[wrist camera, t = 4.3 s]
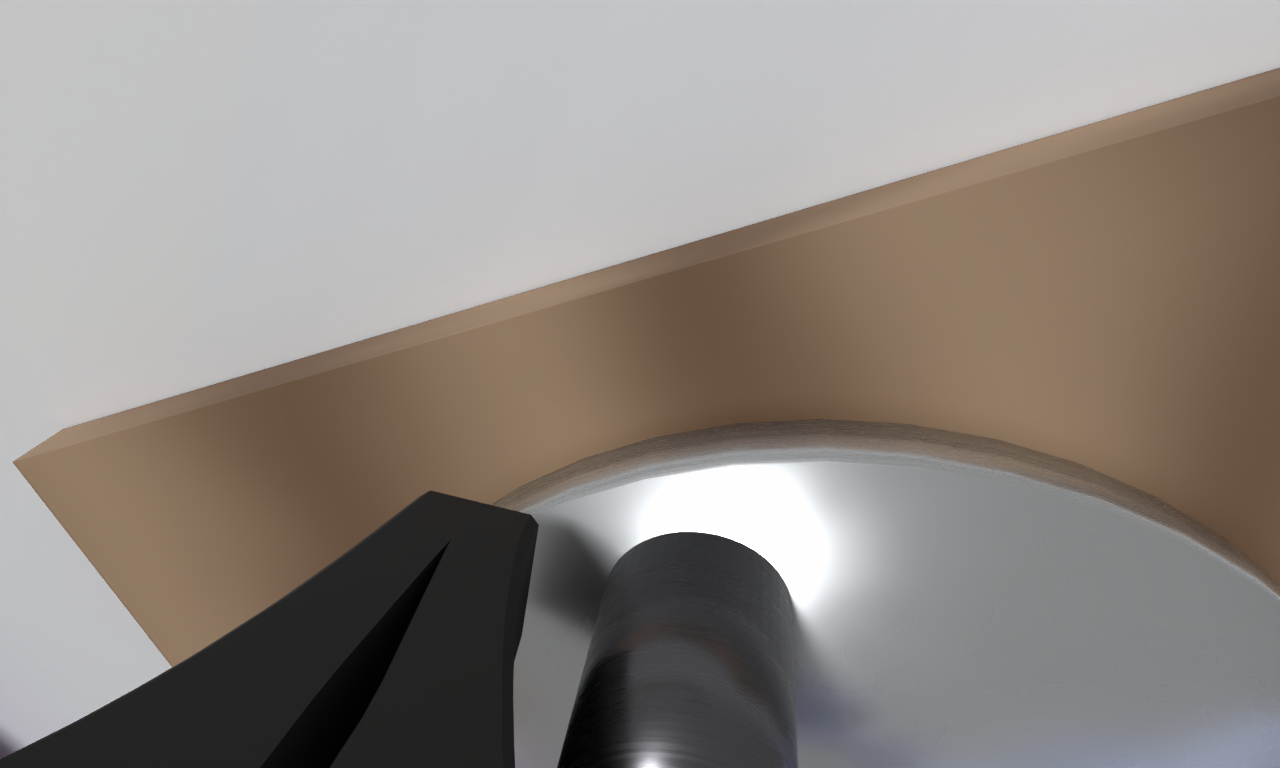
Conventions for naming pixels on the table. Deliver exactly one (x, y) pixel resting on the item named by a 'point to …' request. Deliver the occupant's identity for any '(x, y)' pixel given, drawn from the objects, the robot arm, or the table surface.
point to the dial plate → (754, 363)
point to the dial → (882, 610)
